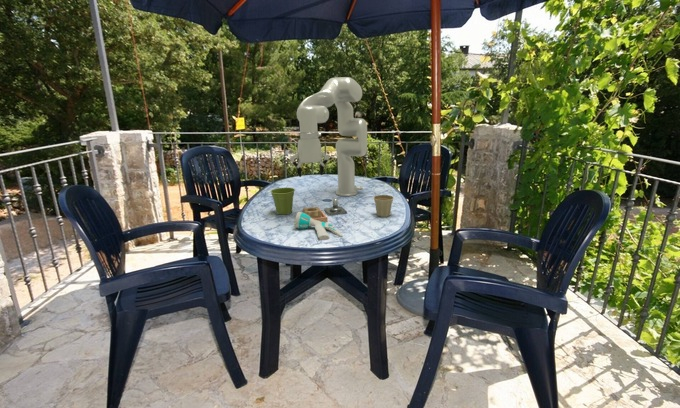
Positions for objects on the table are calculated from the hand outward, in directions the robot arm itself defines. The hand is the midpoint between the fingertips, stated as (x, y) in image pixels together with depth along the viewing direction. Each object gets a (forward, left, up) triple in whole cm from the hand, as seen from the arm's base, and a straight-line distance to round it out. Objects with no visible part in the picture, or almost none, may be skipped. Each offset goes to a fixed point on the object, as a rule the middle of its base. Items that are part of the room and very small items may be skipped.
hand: (310, 175), depth 155 cm
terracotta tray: (0, +1, -20) cm, 20 cm away
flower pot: (-33, +6, -21) cm, 39 cm away
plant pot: (+11, -13, -21) cm, 27 cm away
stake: (-13, -6, -20) cm, 25 cm away
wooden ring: (0, +1, -20) cm, 20 cm away
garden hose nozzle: (+1, +16, -21) cm, 26 cm away
